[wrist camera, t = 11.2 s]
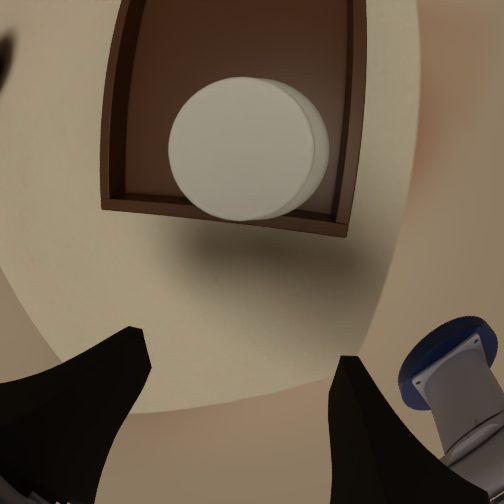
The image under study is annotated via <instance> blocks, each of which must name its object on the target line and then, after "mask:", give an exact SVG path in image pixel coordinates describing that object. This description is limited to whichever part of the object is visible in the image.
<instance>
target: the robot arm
mask: <svg viewBox="0 0 504 504" xmlns="http://www.w3.org/2000/svg"><path fill="white" fill-rule="evenodd" d="M151 368H152V367H151V363H150V359H149V356H148V352H147V348H146V343H145V339H144V335H143V330H142V329H139V328H135V327H131V326H128V327H126V328H124V329H122V330H121V331H119V332H117V333H115V334H114V335H112V336H110V337H109V338H107V339H105V340H104V341H102V342H100V343H99V344H97V345H95V346H93V347H92V348H90V349H88V350H87V351H85V352H83V353H81V354H79V355H77V356H75V357H74V358H72V359H70V360H68V361H66V362H64V363H62V364H60V365H58V366H56V367H53V368H51V369H48V370H46V371H43V372H41V373H38V374H35V375H32V376H29V377H25V378H22V379H19V380H15V381H11V382H6V383H0V504H55V503H56V502H59V503H60V504H67V502H69V503H70V504H94V502H95V497H96V492H97V488H98V484H99V480H100V477H101V473H102V470H103V467H104V464H105V461H106V459H107V456H108V453H109V451H110V448H111V446H112V443H113V441H114V438H115V436H116V434H117V432H118V430H119V428H120V427H121V425H122V423H123V422H124V420H125V418H126V417H127V415H128V413H129V412H130V410H131V408H132V407H133V405H134V403H135V401H136V400H137V398H138V396H139V395H140V393H141V391H142V389H143V387H144V385H145V383H146V380H147V378H148V375H149V373H150V370H151ZM411 381H412V383H413V385H414V386H415V387H416V389H417V390H418V391H419V393H420V394H421V395H422V397H423V398H424V399H425V401H426V402H427V404H428V405H429V406H430V408H431V411H432V414H433V417H434V420H435V423H436V426H437V430H438V433H439V436H440V439H441V443H442V446H443V450H444V454H445V456H443V457H442V458H441V459H437V458H436V457H435V456H434V455H433V454H432V453H431V452H430V451H429V450H427V449H426V448H425V447H424V446H423V445H422V444H421V443H420V442H419V440H418V439H417V438H416V437H415V436H414V435H413V434H412V433H411V432H410V431H409V429H408V428H407V427H406V426H405V425H404V423H403V422H402V421H401V420H400V418H399V417H398V416H397V415H396V413H395V412H394V410H393V409H392V408H391V406H390V405H389V403H388V402H387V401H386V399H385V398H384V396H383V395H382V394H381V392H380V390H379V389H378V387H377V386H376V384H375V383H374V381H373V380H372V378H371V376H370V375H369V373H368V371H367V370H366V368H365V367H364V365H363V363H362V362H361V360H360V358H359V357H358V356H341V357H340V360H339V363H338V367H337V370H336V373H335V376H334V379H333V382H332V385H331V388H330V391H329V400H328V423H329V435H330V447H331V461H332V487H331V499H330V504H504V493H503V494H502V495H500V496H499V497H497V498H495V499H494V500H492V501H491V502H490V499H492V498H493V497H495V496H497V495H498V494H500V493H501V492H503V491H504V393H503V390H502V389H501V387H500V385H499V383H498V382H497V380H496V378H495V376H494V375H493V373H492V371H491V370H490V368H489V366H488V364H487V361H486V357H485V353H484V350H483V346H482V343H481V340H480V337H479V335H478V333H477V332H475V333H473V334H472V335H470V336H469V337H468V338H467V339H466V340H464V341H463V342H462V343H460V344H459V345H458V346H457V347H455V348H454V349H453V350H451V351H450V352H449V353H447V354H446V355H444V356H443V357H442V358H440V359H439V360H437V361H436V362H434V363H433V364H432V365H430V366H429V367H427V368H426V369H424V370H423V371H421V372H419V373H418V374H416V375H415V376H413V377H412V379H411Z"/></svg>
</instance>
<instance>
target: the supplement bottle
mask: <svg viewBox="0 0 504 504" xmlns="http://www.w3.org/2000/svg"><path fill="white" fill-rule="evenodd" d="M168 154H169V161H170V166H171V170H172V173H173V176H174V179H175V181H176V183H177V184H178V186H179V188H180V190H181V191H182V192H183V193H184V195H185V196H186V197H187V198H188V199H189V200H190V201H191V202H192V203H193V204H194V205H196V206H197V207H198V208H200V209H201V210H203V211H205V212H206V213H208V214H210V215H213V216H216V217H219V218H222V219H226V220H233V221H248V220H262V219H269V218H274V217H278V216H281V215H283V214H286V213H288V212H290V211H292V210H294V209H296V208H297V207H299V206H300V205H301V204H303V203H304V202H305V201H306V200H307V199H308V198H310V196H311V195H312V194H313V193H314V192H315V190H316V189H317V187H318V186H319V185H320V183H321V181H322V179H323V177H324V174H325V172H326V168H327V165H328V160H329V138H328V133H327V129H326V126H325V123H324V121H323V119H322V117H321V115H320V113H319V112H318V110H317V109H316V107H315V106H314V105H313V104H312V102H311V101H310V100H309V99H308V98H307V97H306V96H304V95H303V94H302V93H301V92H299V91H298V90H296V89H294V88H293V87H291V86H289V85H287V84H284V83H281V82H278V81H275V80H270V79H263V78H251V77H232V78H228V79H223V80H220V81H217V82H214V83H212V84H210V85H208V86H206V87H204V88H203V89H201V90H199V91H198V92H197V93H196V94H194V95H193V96H192V97H191V98H190V99H189V100H188V101H187V102H186V103H185V104H184V106H183V107H182V108H181V110H180V112H179V113H178V115H177V117H176V119H175V121H174V123H173V126H172V129H171V132H170V137H169V147H168Z"/></svg>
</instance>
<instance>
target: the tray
mask: <svg viewBox="0 0 504 504" xmlns="http://www.w3.org/2000/svg"><path fill="white" fill-rule="evenodd" d="M366 65H367V17H366V0H122V1H121V4H120V8H119V12H118V16H117V20H116V24H115V28H114V33H113V38H112V43H111V48H110V53H109V59H108V65H107V72H106V79H105V87H104V96H103V107H102V120H101V138H100V193H101V209H102V210H111V211H122V212H133V213H144V214H154V215H164V216H174V217H184V218H193V219H202V220H211V221H220V222H228V223H237V224H245V225H253V226H261V227H269V228H277V229H284V230H292V231H299V232H307V233H314V234H321V235H328V236H335V237H342V238H346V237H347V232H348V226H349V225H348V224H349V221H350V215H351V209H352V203H353V197H354V191H355V185H356V178H357V171H358V163H359V155H360V147H361V138H362V128H363V117H364V104H365V88H366ZM232 77H251V78H263V79H270V80H275V81H278V82H281V83H284V84H287V85H289V86H291V87H293V88H294V89H296V90H298V91H299V92H301V93H302V94H303V95H304V96H306V97H307V98H308V99H309V100H310V101H311V102H312V104H313V105H314V106H315V107H316V109H317V110H318V112H319V113H320V115H321V117H322V119H323V121H324V123H325V126H326V129H327V133H328V138H329V160H328V165H327V168H326V172H325V174H324V177H323V179H322V181H321V183H320V185H319V186H318V187H317V189H316V190H315V192H314V193H313V194H312V195H311V196H310V198H308V199H307V200H306V201H305V202H304V203H303V204H301V205H300V206H299V207H297V208H296V209H294V210H292V211H290V212H288V213H286V214H283V215H281V216H278V217H274V218H269V219H262V220H248V221H233V220H226V219H222V218H219V217H216V216H213V215H210V214H208V213H206V212H205V211H203V210H201V209H200V208H198V207H197V206H196V205H194V204H193V203H192V202H191V201H190V200H189V199H188V198H187V197H186V196H185V195H184V193H183V192H182V191H181V190H180V188H179V186H178V184H177V183H176V181H175V179H174V176H173V173H172V170H171V166H170V161H169V154H168V147H169V137H170V132H171V129H172V126H173V123H174V121H175V119H176V117H177V115H178V113H179V112H180V110H181V108H182V107H183V106H184V104H185V103H186V102H187V101H188V100H189V99H190V98H191V97H192V96H193V95H194V94H196V93H197V92H198V91H199V90H201V89H203V88H204V87H206V86H208V85H210V84H212V83H214V82H217V81H220V80H223V79H228V78H232Z"/></svg>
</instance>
